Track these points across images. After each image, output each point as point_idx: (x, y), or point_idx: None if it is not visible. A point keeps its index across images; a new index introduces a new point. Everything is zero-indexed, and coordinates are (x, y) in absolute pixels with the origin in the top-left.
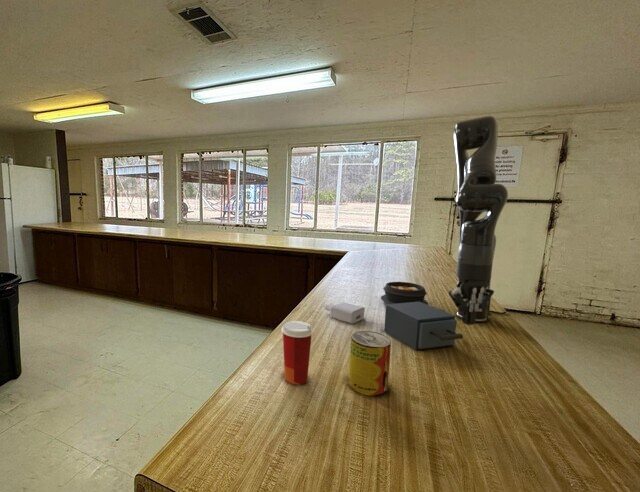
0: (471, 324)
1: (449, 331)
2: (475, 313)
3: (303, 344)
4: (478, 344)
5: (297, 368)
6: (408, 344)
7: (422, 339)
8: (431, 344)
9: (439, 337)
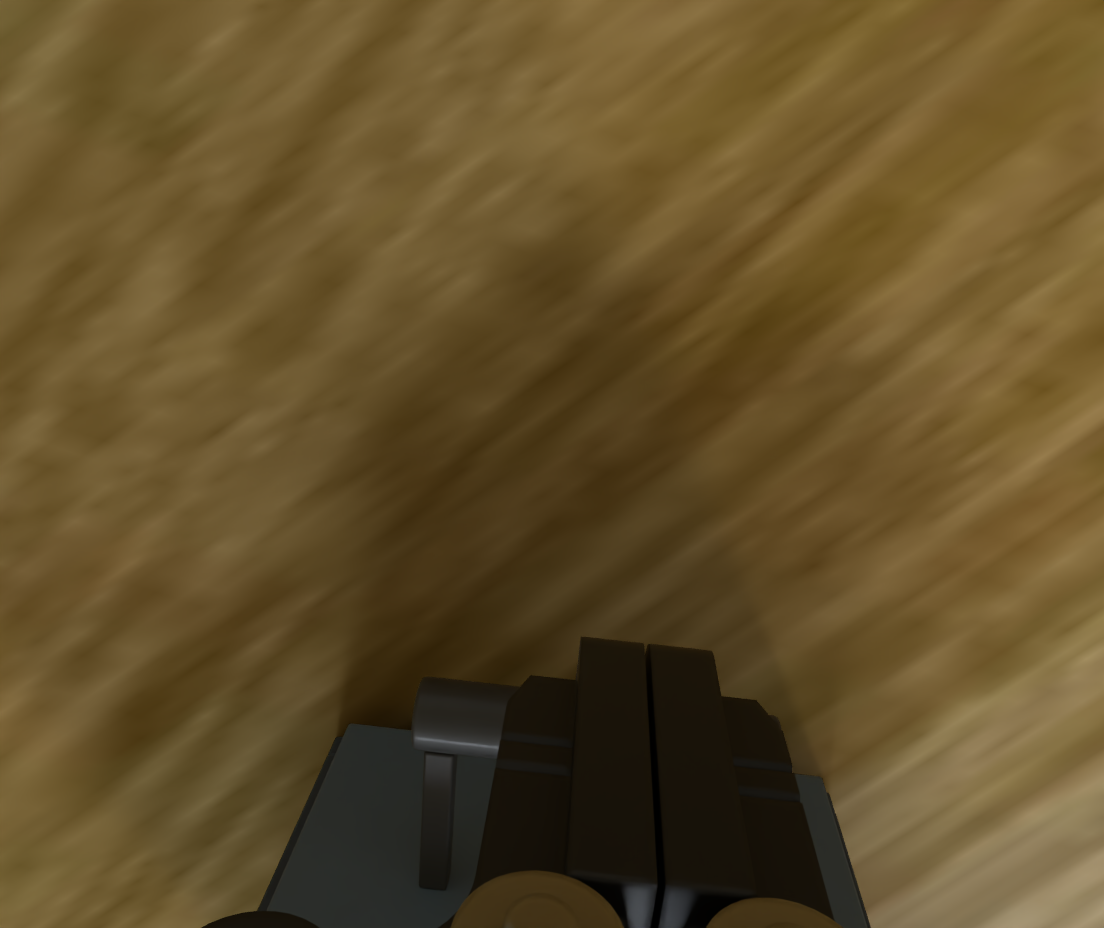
0: (648, 644)
1: (449, 847)
2: (494, 843)
3: None
4: (28, 656)
5: None
6: None
7: (834, 859)
8: None
9: None
